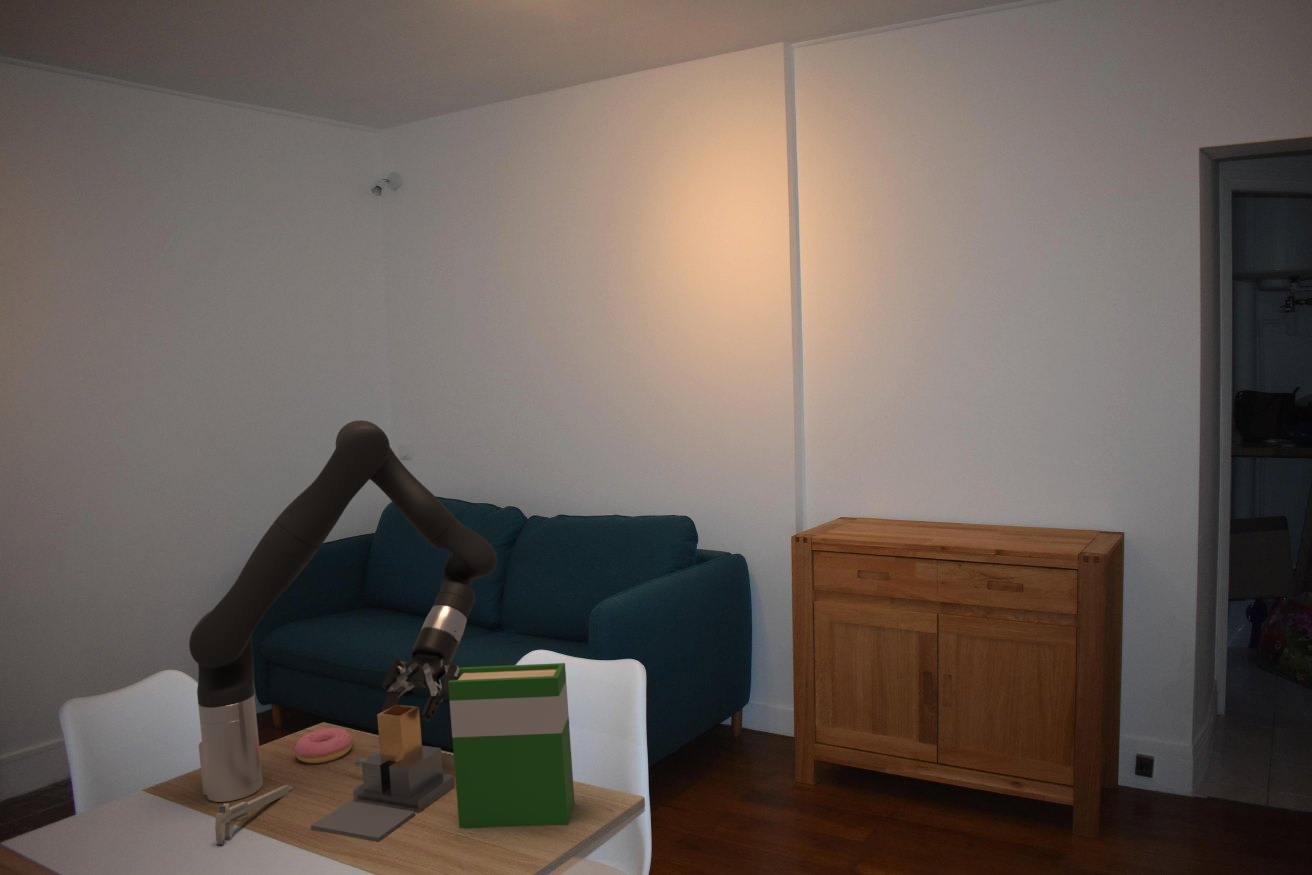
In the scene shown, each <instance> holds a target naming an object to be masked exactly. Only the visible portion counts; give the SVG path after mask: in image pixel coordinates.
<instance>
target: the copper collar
mask: <svg viewBox="0 0 1312 875" xmlns="http://www.w3.org/2000/svg"><path fill="white" fill-rule="evenodd" d="M376 717H377V726H378V727H377V730H378V740H379V752H380V755H381V760H388V761H395V762H403V763H404V762H406V761H407V760H409V759H411V758H412V757H414V756H415V755H417V754H419V753H420V752H422V746H423V744H422V742H423V741H422V731H421V730H422V729H421V719H420V717H421V715H420V706H412V705H403V704H397V705H394V706H392V707H391V708H389V709H387V710H385V711H383V710H382V711H381V712H379V713H378V714H377V715H376Z"/></svg>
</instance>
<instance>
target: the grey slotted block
mask: <svg viewBox="0 0 1312 875" xmlns="http://www.w3.org/2000/svg"><path fill="white" fill-rule="evenodd" d="M354 764H355V767H356V768H359V769H361V771H362V781H363V783H362V784H361V785H359V786H358V787H356V788H354V789H353V790H352V794H353V801H354V802H360V803H366V804H372V805H378V806H384V807H390V808H396V809H402V810H408V811H414V812H415V813H420V812H422V811H423V810H424V809H425V808H427V807H429V806H430V805H431V804H433V803H434V802H436V800H438V799H440V798H441V797H442V796H444V795H445V794H446V793H448V792H449V791H451V790H452V789H453V788H455V787H456V782H455V775H453V774H446V773H444V772H443V759H442V749H441V747H437V746H436V747H435V746H429V745H428V746H427V745H422V752H420V753H419V754H417V755H415V756H414V757H412V758H411V759H409V760H407V761H406V762H404V763H403V762H395V761H388V760H381V755H380V751H379V752H377V753H375V754H374V755H372V756H370V757H369V758H363V757H362V758H361V757H358V758H357V759H356V760H355V763H354Z"/></svg>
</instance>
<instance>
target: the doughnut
mask: <svg viewBox="0 0 1312 875" xmlns="http://www.w3.org/2000/svg"><path fill="white" fill-rule="evenodd" d="M352 743H353V737H352V734H351V732H349V730H346V729H345V728H342V727H327V728H322V729H321V728H320V729H317V730H313V731H311V732H308V733H306V734H304V735H302V736H300V738H299V739H297V741H296V742H295V743H294V748H293V751H294V754H295V757H296V758H297V759H298V760H299V761H300V762H303V763H305V764H323V763H327V762H332V761H335V760H337V759H339V758H341V757H343V756H344V755H346V754H347V753H349V751H350V750H351V748H352V746H353V744H352Z"/></svg>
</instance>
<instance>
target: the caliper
mask: <svg viewBox="0 0 1312 875" xmlns="http://www.w3.org/2000/svg"><path fill="white" fill-rule="evenodd" d="M293 789H294V787H293V786H290V784H288V785H287V784H285V785H282V786H280V787H277V788H276V789H273V790H271V791H269V792H267V793H265V794H263V795H261V796H258V797H256V798H253V799H251V800H250V801H242V802H239V803H237V804H234V805H232V806H230V804H231V803H226V802H224V803H223V804H222V805H218V813H216V814H215V826H214V829H215V830H214V831H215V840H216V845H220V846H222V845H225V841H231V840H232V838H233V833H234V828H235V823H236V822H242V821H244V820H247V819H248V817H249V816H248V815H249V813H251V812H253V811H255V810H258V809H260V808H262V807H264V806H266V805H268V804H270V803H272V802H274V801H276V800H278V799H280V798H281V799H282V798H283V797H285V796H286V795H287V794H289V793H290V791H291V790H293Z"/></svg>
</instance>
